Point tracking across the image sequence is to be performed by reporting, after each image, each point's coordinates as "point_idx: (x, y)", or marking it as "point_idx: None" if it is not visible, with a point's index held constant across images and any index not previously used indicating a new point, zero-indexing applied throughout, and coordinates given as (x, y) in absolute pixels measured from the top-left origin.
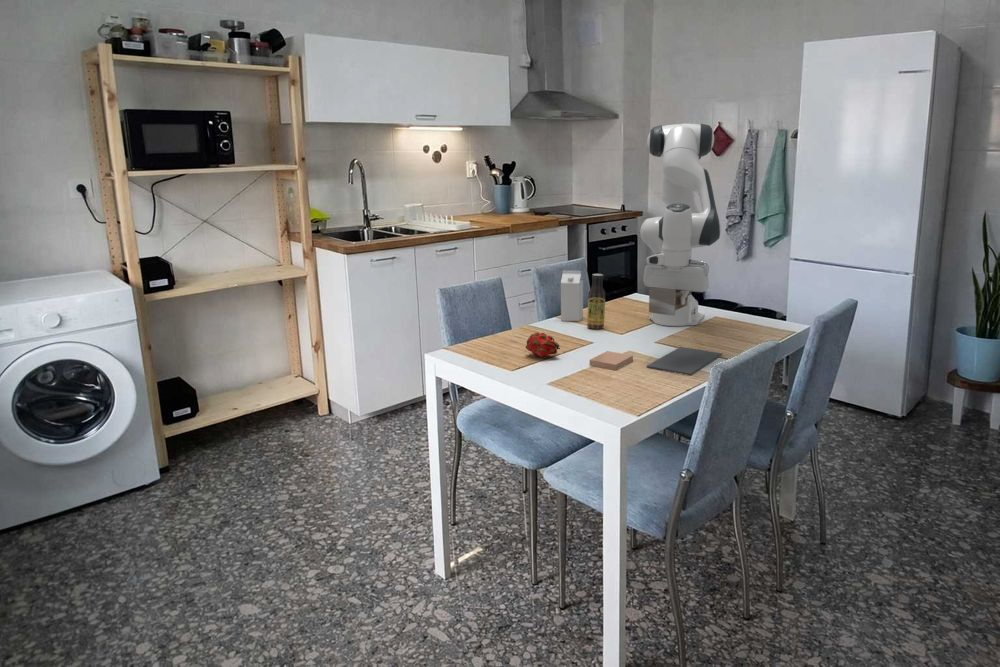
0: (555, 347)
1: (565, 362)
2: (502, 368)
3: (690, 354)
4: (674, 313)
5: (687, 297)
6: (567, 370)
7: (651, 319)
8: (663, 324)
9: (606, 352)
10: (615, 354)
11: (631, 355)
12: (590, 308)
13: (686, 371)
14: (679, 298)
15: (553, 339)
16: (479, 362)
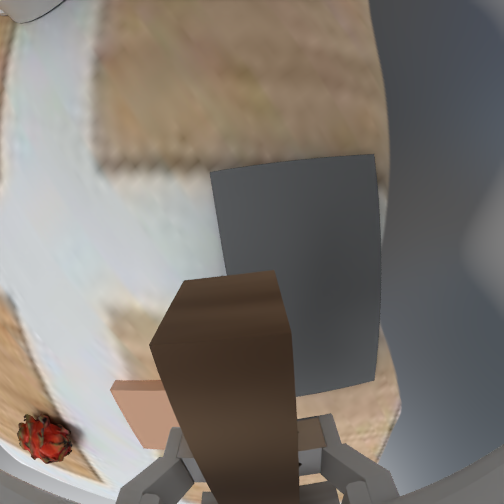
0: (68, 446)
1: (104, 439)
2: (86, 478)
3: (295, 237)
4: (335, 487)
5: (283, 305)
6: (147, 466)
7: (5, 15)
8: (40, 14)
9: (118, 399)
10: (146, 403)
11: None
12: None
13: (359, 376)
14: (303, 469)
15: (43, 439)
16: (50, 465)
